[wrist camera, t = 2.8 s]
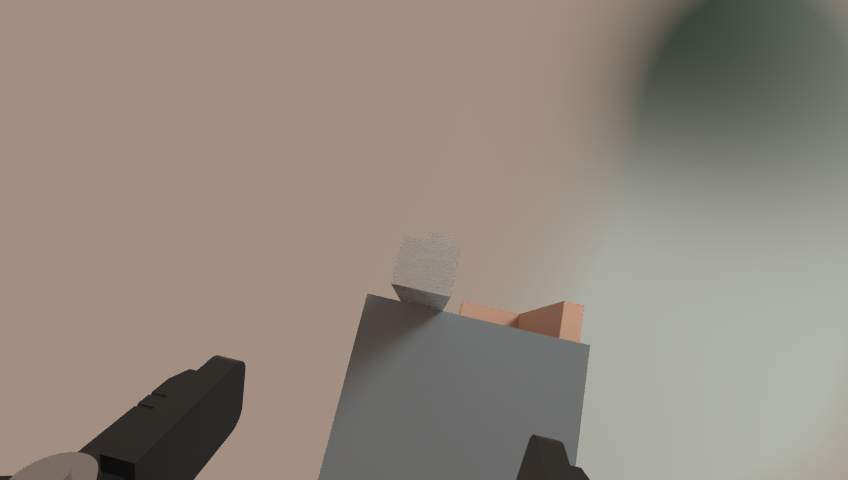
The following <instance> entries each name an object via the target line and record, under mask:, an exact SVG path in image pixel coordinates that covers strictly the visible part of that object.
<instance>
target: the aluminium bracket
mask: <svg viewBox="0 0 848 480" xmlns="http://www.w3.org/2000/svg"><path fill="white" fill-rule="evenodd" d="M453 242H454V239H453V238H449V237H444V236H440V235H435V234H430V233H428V237H427V241H424V240H420V239H416V238H411V237H406V236H403V238H402V242H401V246H400V250H399V254H398V258H397V262H396V265H395V270H394V274H393V277H392V282H391V284H392V286H393V288H394V289H395V291H396V293H397V295H398V297H399V298H400V300H401V302H405V303H410V304H414V305H418V306H423V307H427V308H431V309H436V310H440V311H443V309H444V307H445V306H446V304H447V302H448V300H449V299H450V297H451V292H452V287H453V283H454V278H455V273H456V268H457V264H458V259H459V254H460V248H456V247H453Z"/></svg>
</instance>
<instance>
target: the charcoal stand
mask: <svg viewBox="0 0 848 480" xmlns="http://www.w3.org/2000/svg"><path fill="white" fill-rule="evenodd" d="M583 308H584V305H580V304H575V303H571V302H566V301H563V302H559V303H556V304H553V305H549V306H546V307H542V308H539V309H536V310H532V311H529V312H526V313H522V314H517V313H513V312H508V311H504V310H500V309H495V308H491V307H486V306H482V305H478V304H473V303H469V302H465V301H463V302H462V304H461V309H460V314H459V315H457V314H453V313H448V312H444V311H440V310H436V309H431V308H427V307H423V306H418V305H414V304H410V303H405V302H401V301H397V300H393V299H388V298H384V297H380V296H375V295H371V294H367V298H366V301H365V305H364V309H363V312H362V316H361V320H360V324H359V327H358V331H357V335H356V339H355V343H354V346H353V350H352V354H351V358H350V361H349V365H348V369H347V373H346V377H345V380H344V384H343V388H342V392H341V396H340V400H339V403H338V407H337V410H336V414H335V418H334V422H333V425H332V430H331V433H330V437H329V441H328V445H327V448H326V452H325V456H324V460H323V463H322V467H321V471H320V474H319V479H318V480H516V478H517V475H518V472H519V469H520V466H521V463H522V460H523V457H524V454H525V451H526V448H527V445H528V442H529V439H530V437H531V436H532V435H533V434H534V435H539V436H543V437H547V438H551V439H555V440H559V441H562V442H563V444H564V447H565V450H566V453H567V456H568V460H569V463H570V465H571V466H575V464H576V456H577V448H578V440H579V432H580V422H581V415H582V407H583V397H584V390H585V382H586V373H587V365H588V357H589V348H590V345H586V344H582V343H579V341H580V333H581V325H582V317H583Z"/></svg>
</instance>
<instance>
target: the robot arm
mask: <svg viewBox="0 0 848 480" xmlns="http://www.w3.org/2000/svg"><path fill="white" fill-rule="evenodd" d="M244 379H245V363H244V362H242V361H239V360H235V359H230V358H226V357H222V356H218V355H216V356H214V357H212V358H211V359H210V360H209V361H207V362H206V363H205V364H204V365H203V366H202V367H200V369H198V370H197V371H195V370H191V369H189V370H187V371H185V372H182V373H180V374H178V375H176V376H174V377H171V378H169V379H168V380H166V381H165V382H164V383H163V384H161V385H160V386H159V387H158V388H156V389H155V390H154V391H153V392H152V394H151V395H148V396H147V397H145V398H144V399H143V400H142V401H140V402H139V403H138V405H137V406H134V407H133V408H132V409H130V410H129V411H128V412H127V413H125V414H124V415H123V416H122V417H120V418H119V419H118V420H117V421H116V422H114V423H113V424H112V425H111V426H109V427H108V428H107V429H106V430H104V431H103V432H102V433H101V434H99V435H98V436H97V437H96V438H94V439H93V440H92V441H91V442H90V443H88V444H87V445H86V446H85V447H83V448H82V449H81V450H80V451H78V452H68V453H61V454H56V455H52V456H49V457H46V458H43V459H41V460H39V461H36V462H34V463H32V464H31V465H28V466H26V467H25V468H23V469H22V470H20V471H19V472H17V473H16V474H15V475H14V476H0V480H194V479H195V477H196V476H197V475H198V474H199V472H200V471H201V470H202V469H203V467H204V466H205V465H206V464H207V462H208V461H209V460H210V459H211V457H212V456H213V455H214V454H215V452H216V451H217V450H218V448H219V447H220V446H221V445H222V444H223V442H224V441H225V440H226V439H227V437H228V436H229V435H230V434H231V432H232V431H233V430H234V428H235V426H236V424H237V422H238V420H239V417H240V414H241V411H242V402H243V391H244ZM516 480H590V479H589V478H588V477H587V475H586V474H585V473H584V471H583V470H582V469H581V468H578V467H575V466H571V465H570V463H569V460H568V456H567V453H566V450H565V447H564V444H563V442H562V441H559V440H555V439H551V438H547V437H543V436H539V435H534V434H533V435H532V436H531V437H530V439H529V442H528V445H527V448H526V451H525V454H524V457H523V460H522V463H521V466H520V469H519V472H518V475H517V478H516Z"/></svg>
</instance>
